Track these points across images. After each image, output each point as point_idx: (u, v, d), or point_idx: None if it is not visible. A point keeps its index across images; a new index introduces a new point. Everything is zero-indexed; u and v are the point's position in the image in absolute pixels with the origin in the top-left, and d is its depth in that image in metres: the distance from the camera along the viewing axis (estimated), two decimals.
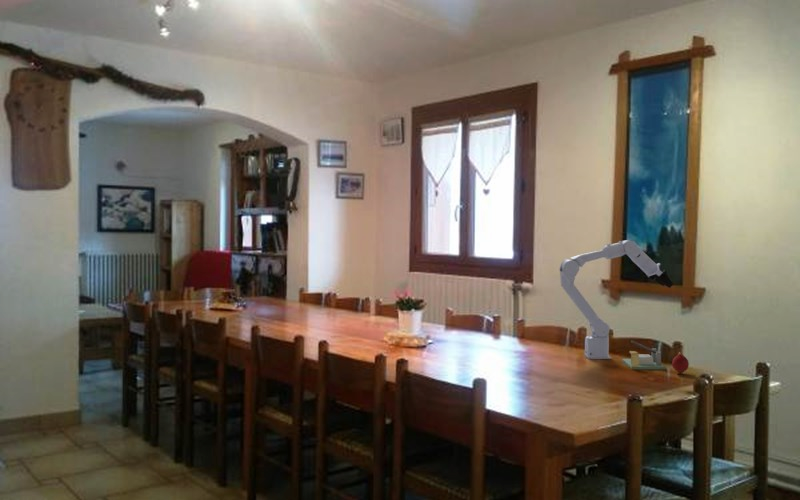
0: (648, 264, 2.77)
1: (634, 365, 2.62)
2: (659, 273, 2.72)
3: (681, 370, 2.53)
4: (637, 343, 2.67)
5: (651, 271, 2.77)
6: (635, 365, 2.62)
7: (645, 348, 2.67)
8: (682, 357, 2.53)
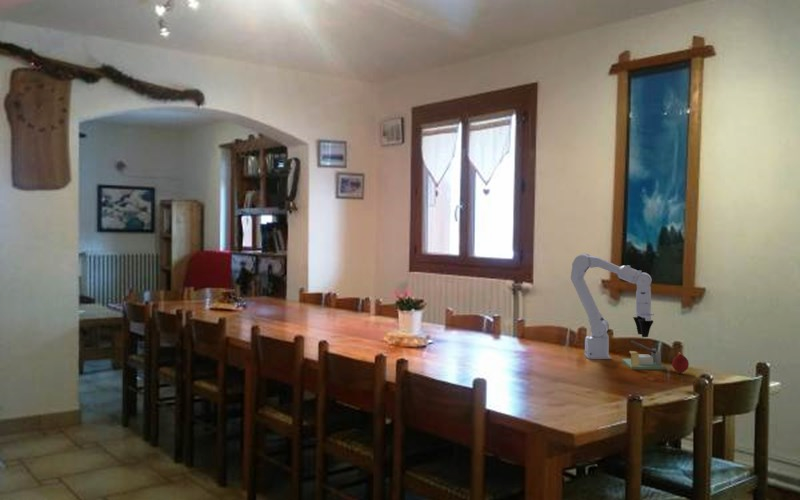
0: (645, 306, 2.72)
1: (634, 365, 2.62)
2: (648, 319, 2.68)
3: (681, 370, 2.53)
4: (637, 343, 2.67)
5: (642, 313, 2.73)
6: (635, 365, 2.62)
7: (645, 348, 2.67)
8: (682, 357, 2.53)
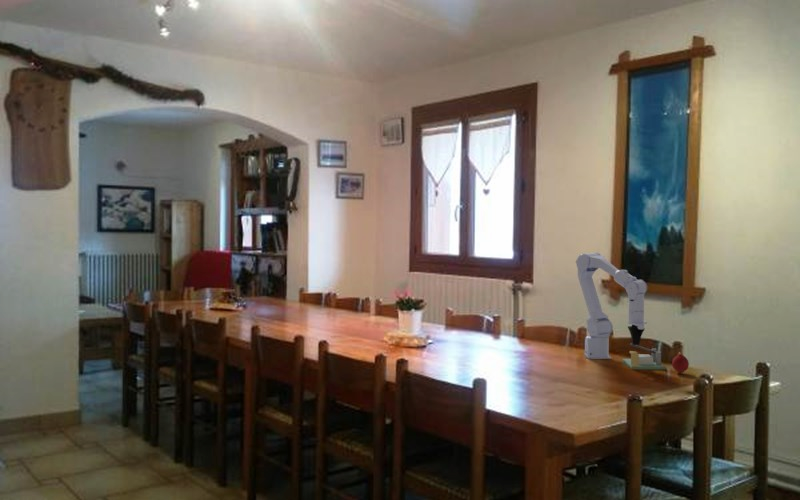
0: (638, 314, 2.65)
1: (634, 365, 2.62)
2: (641, 327, 2.61)
3: (681, 370, 2.53)
4: (636, 345, 2.67)
5: (635, 321, 2.65)
6: (635, 365, 2.62)
7: (645, 349, 2.67)
8: (682, 357, 2.53)
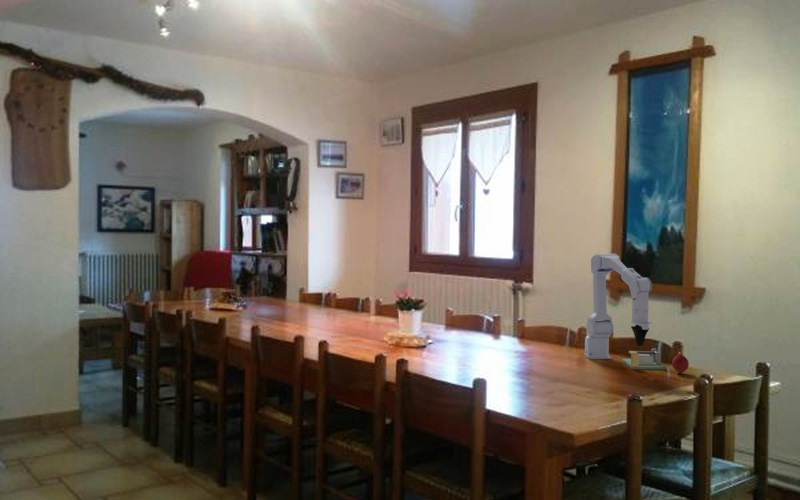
0: (642, 313, 2.53)
1: (634, 365, 2.62)
2: (645, 327, 2.48)
3: (681, 370, 2.53)
4: None
5: (639, 321, 2.53)
6: (635, 365, 2.62)
7: (644, 353, 2.67)
8: (682, 357, 2.53)
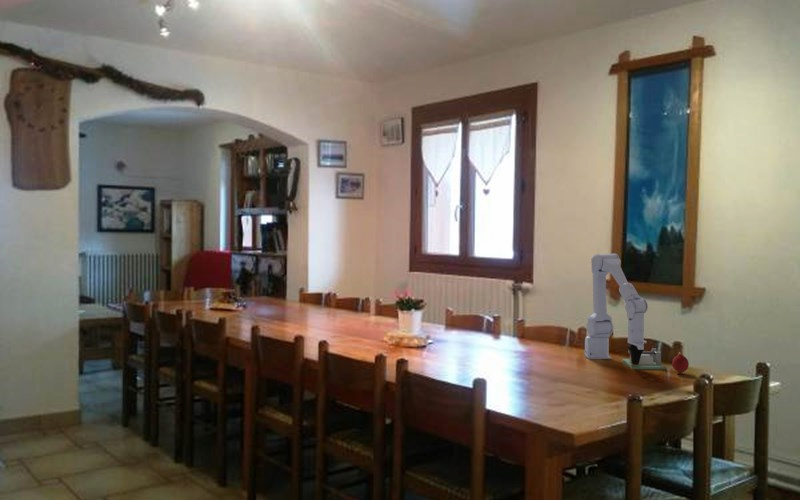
0: (638, 333, 2.58)
1: None
2: (640, 347, 2.54)
3: (681, 370, 2.53)
4: None
5: (634, 341, 2.59)
6: None
7: (644, 353, 2.67)
8: (682, 357, 2.53)
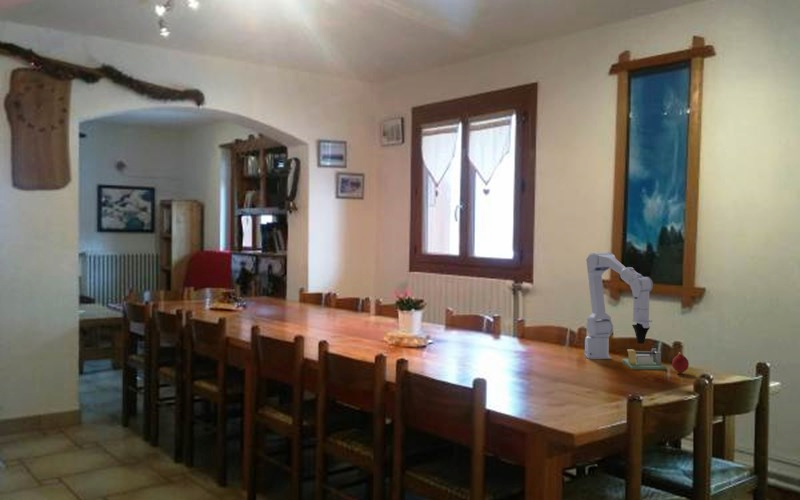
0: (643, 312, 2.57)
1: (631, 363, 2.65)
2: (646, 326, 2.53)
3: (681, 370, 2.53)
4: None
5: (640, 319, 2.58)
6: (632, 363, 2.65)
7: (644, 353, 2.67)
8: (682, 357, 2.53)
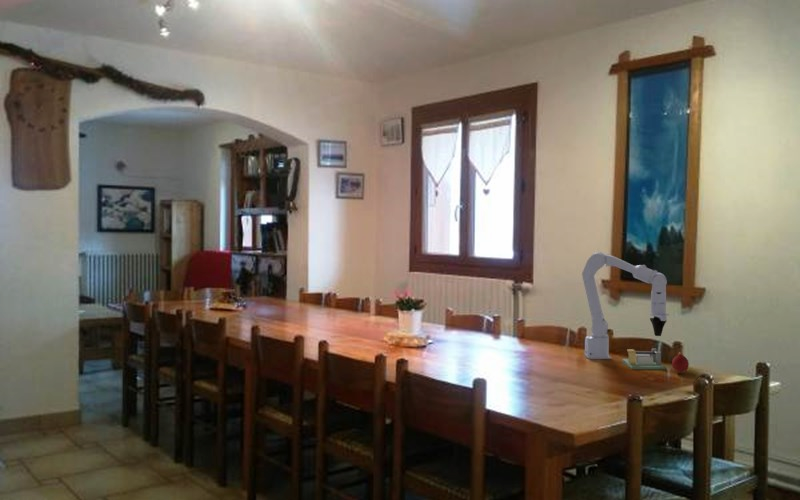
0: (660, 306, 2.72)
1: (631, 363, 2.65)
2: (663, 319, 2.68)
3: (681, 370, 2.53)
4: None
5: (657, 313, 2.72)
6: (632, 363, 2.65)
7: (644, 353, 2.67)
8: (682, 357, 2.53)
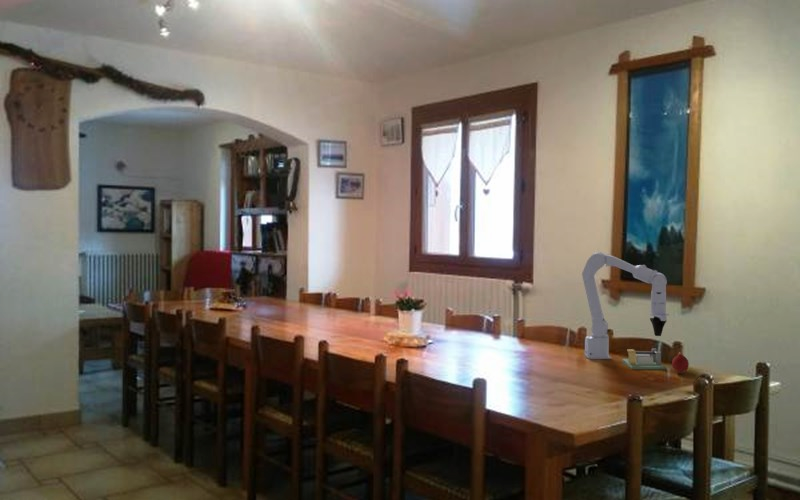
0: (660, 306, 2.72)
1: (631, 363, 2.65)
2: (663, 319, 2.68)
3: (681, 370, 2.53)
4: None
5: (657, 313, 2.72)
6: (632, 363, 2.65)
7: (644, 353, 2.67)
8: (682, 357, 2.53)
